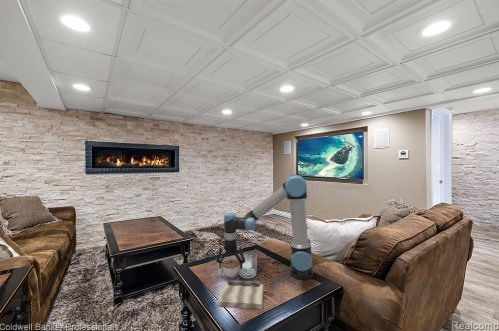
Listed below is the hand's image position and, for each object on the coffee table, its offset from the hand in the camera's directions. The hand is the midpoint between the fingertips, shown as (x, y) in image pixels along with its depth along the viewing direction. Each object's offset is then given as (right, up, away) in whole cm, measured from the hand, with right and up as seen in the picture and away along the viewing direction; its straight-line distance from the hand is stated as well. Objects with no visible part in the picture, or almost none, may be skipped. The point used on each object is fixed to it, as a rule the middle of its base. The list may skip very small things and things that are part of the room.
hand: (231, 273), depth 141 cm
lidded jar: (0, -1, 0) cm, 1 cm away
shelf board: (+8, -3, -21) cm, 22 cm away
